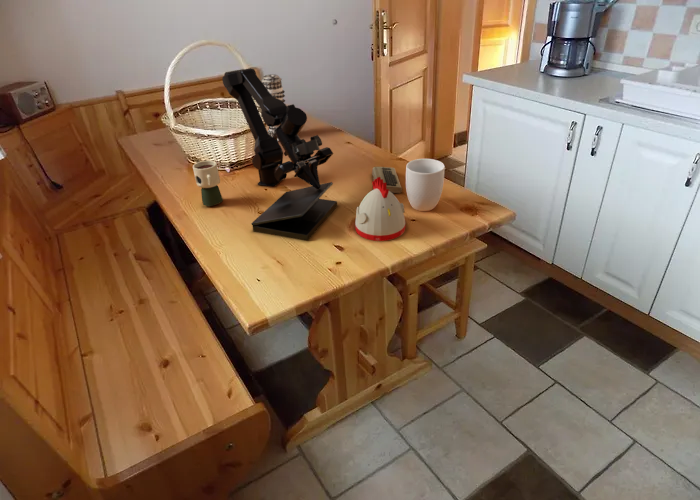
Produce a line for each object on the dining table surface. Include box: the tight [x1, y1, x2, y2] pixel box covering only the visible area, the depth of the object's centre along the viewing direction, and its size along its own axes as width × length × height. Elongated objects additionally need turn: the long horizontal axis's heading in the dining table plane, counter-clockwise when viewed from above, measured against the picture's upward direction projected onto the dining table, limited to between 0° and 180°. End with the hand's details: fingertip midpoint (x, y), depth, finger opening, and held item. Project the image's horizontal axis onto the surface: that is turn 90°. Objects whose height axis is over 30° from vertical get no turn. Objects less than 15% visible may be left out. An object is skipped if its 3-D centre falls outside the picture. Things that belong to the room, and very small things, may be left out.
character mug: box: [192, 159, 224, 207], centre depth 145 cm, size 11×7×13 cm, turn 25°
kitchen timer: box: [354, 177, 406, 242], centre depth 128 cm, size 14×14×15 cm
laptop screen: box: [250, 181, 333, 226], centre depth 136 cm, size 17×21×1 cm
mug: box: [405, 158, 446, 212], centre depth 140 cm, size 15×11×13 cm
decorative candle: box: [260, 73, 287, 142], centre depth 192 cm, size 9×9×25 cm
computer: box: [371, 166, 403, 194], centre depth 155 cm, size 16×8×3 cm, turn 3°
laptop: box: [251, 198, 338, 242], centre depth 138 cm, size 17×21×2 cm
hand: (319, 188), depth 138 cm, fingers closed
